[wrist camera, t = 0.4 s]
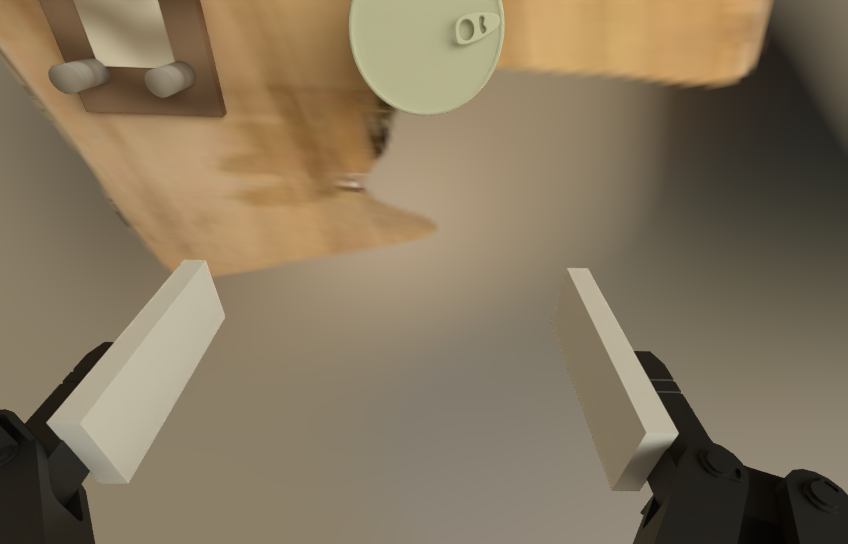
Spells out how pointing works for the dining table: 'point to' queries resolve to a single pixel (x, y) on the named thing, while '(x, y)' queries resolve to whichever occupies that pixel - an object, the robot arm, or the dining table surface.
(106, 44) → the pin nest
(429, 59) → the can
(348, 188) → the dining table surface
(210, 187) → the dining table surface
